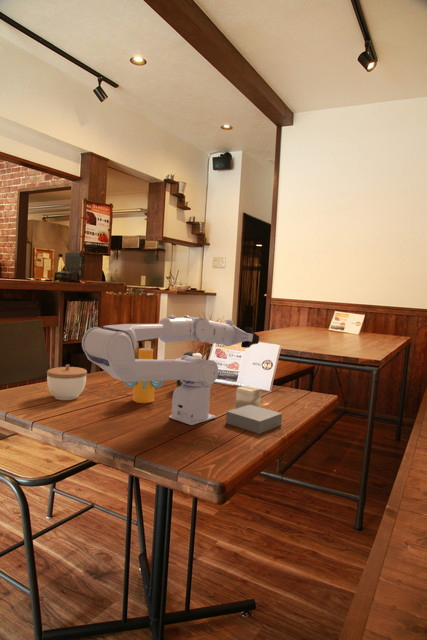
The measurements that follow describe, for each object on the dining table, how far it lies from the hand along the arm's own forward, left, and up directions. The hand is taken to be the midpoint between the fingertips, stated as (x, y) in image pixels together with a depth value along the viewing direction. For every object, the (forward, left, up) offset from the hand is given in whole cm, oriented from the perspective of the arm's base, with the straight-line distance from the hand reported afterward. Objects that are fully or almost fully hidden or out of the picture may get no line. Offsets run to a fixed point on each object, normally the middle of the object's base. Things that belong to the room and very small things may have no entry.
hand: (247, 338), depth 121 cm
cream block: (-2, -3, -20) cm, 20 cm away
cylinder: (-20, +21, -20) cm, 35 cm away
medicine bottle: (+2, +23, -20) cm, 30 cm away
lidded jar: (-35, +37, -20) cm, 54 cm away
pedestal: (-12, -12, -20) cm, 26 cm away
